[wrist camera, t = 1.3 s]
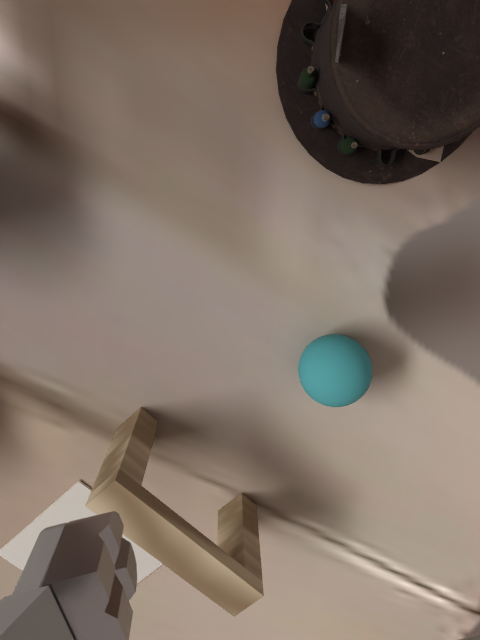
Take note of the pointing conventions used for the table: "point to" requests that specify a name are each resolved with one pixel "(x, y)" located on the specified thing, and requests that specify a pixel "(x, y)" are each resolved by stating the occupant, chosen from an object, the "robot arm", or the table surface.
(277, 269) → the table surface
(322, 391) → the ball
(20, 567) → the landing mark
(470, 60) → the top hat
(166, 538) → the bridge
